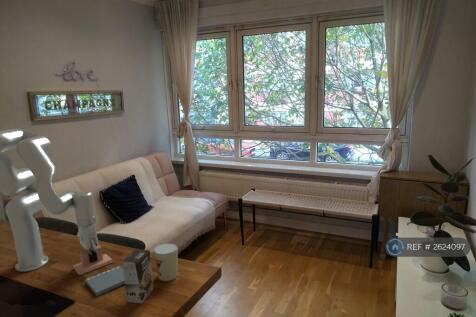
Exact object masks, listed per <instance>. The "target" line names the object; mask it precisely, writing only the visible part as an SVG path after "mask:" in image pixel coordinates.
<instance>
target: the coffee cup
mask: <svg viewBox="0 0 476 317" xmlns="http://www.w3.org/2000/svg"><path fill="white" fill-rule="evenodd" d="M153 255H154V259H155V264H156V265H155V266H156V271H157V272H156V273H157V276H158V279H159V280H160V281H163V282H167V281H168V282H169V281H172V280H174V279H176V278H177V277H178V271H179V270H178V268H179V265H178V262H179V261H178V260H179V259H178V255H179V254H178V246H177V245H176V244H174V243H168V242H167V243H163V244H159V245H158V246H156V247H155V248H154V250H153Z"/></svg>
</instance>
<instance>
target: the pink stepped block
mask: <svg viewBox="0 0 476 317" xmlns="http://www.w3.org/2000/svg"><path fill="white" fill-rule="evenodd" d="M96 248H97V258H98V260H97V261H95V262H92V263H90V261H89V249H88V250H87V249H86V250H85V249H83V250H80V251H79V253H80V263H76V264H74V265H73V266H72V268H73V270H74V271H75V272H76V273H77V275H78V276H81V275H84V274H86V273H87V274H88V273H89V272H91V271H94V270H97V269H100V268H102V267H106V266H107V265H111V264H112V263H113V262H114V261H113V259H112V258H111V257H110V256H109V255H108V254H107V253H104V254H103V249H102V246H101V245H100V244H98V246H96ZM92 249H93V248H92ZM92 249H91V250H92Z"/></svg>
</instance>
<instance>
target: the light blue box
mask: <svg viewBox="0 0 476 317" xmlns="http://www.w3.org/2000/svg"><path fill="white" fill-rule="evenodd" d="M85 284H86V285H87V286H88V288H89V289H90V290H91V291H92V292H93V293H94V295H95V296H96V297H98V296H101V295H103V294H106V293H107V292H110V291H112V290H114V289H117V288H119V287H121V286H123V285H124V286H125V279H124V271H123V267H121V265H119V266H116V267H114V268H111V269H109V270H106V271H103V272H101V273H98V274H97V275H93V276H91V277H88V278H86V279H85Z"/></svg>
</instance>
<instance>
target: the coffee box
mask: <svg viewBox="0 0 476 317" xmlns="http://www.w3.org/2000/svg"><path fill="white" fill-rule="evenodd" d="M150 252H151V251H150V250H147V249H134V250H133V251H132V252H131V253H130V254H128V255H127V256H126V257H125V258H124V259H123V260H122V269H123V271H124V279H125V284H124V286H125V295H126V302H127V303H135V304H136V303H137V304H143V303H144V301H146V299H147V298H148V297H149V295H150V294H151V292H152V291H153V289H154V284H153V282H154V281H153V272H152V263H151V262H152V261H151V253H150Z"/></svg>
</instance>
